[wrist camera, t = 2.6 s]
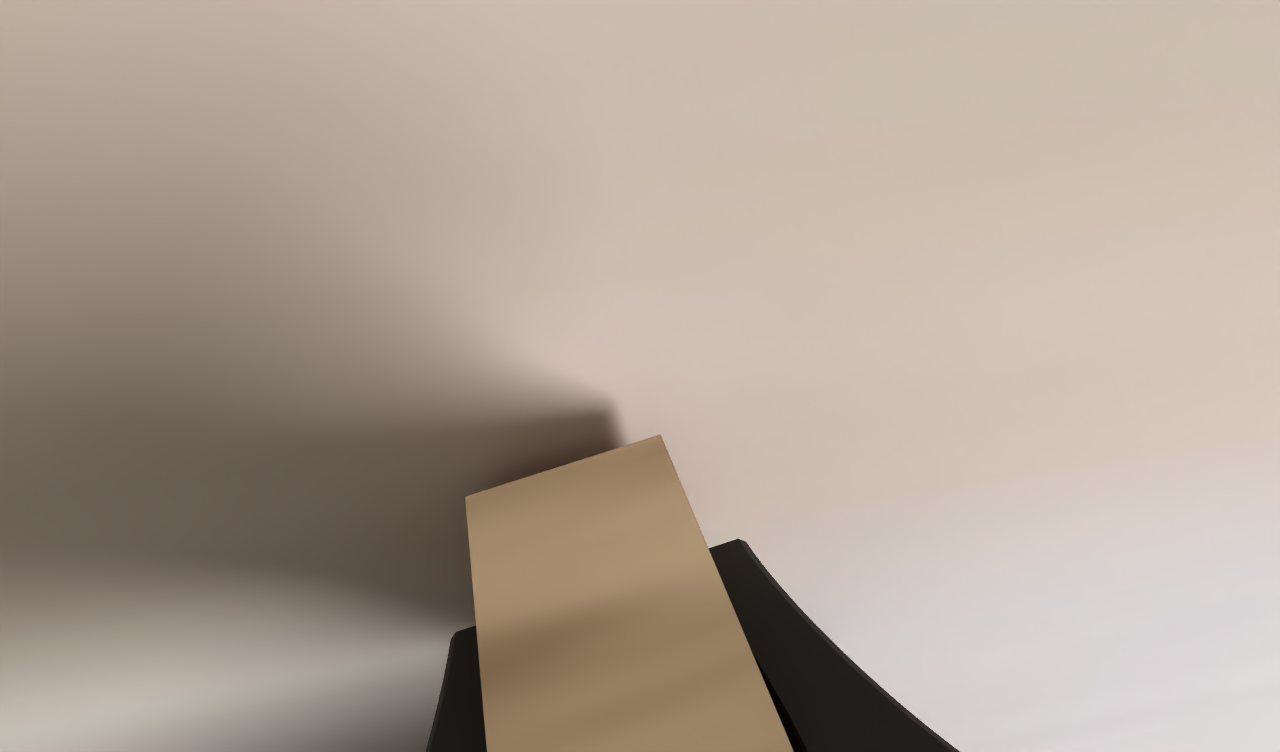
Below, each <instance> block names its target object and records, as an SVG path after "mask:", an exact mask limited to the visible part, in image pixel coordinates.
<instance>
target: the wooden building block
mask: <svg viewBox="0 0 1280 752" xmlns="http://www.w3.org/2000/svg"><path fill="white" fill-rule="evenodd" d="M465 502H466V514H467V525H468V537H469V549H470V560H471V572H472V583H473V595H474V607H475V618H476V630H477V641H478V653H479V665H480V676H481V688H482V699H483V711H484V723H485V734H486V746H487V752H794V751H793V749H792V746H791V744H790V742H789V739H788V737H787V734H786V732H785V730H784V727H783V725H782V723H781V720H780V718H779V715H778V713H777V711H776V708H775V706H774V704H773V701H772V699H771V696H770V694H769V692H768V689H767V687H766V684H765V682H764V680H763V677H762V675H761V673H760V670H759V668H758V665H757V663H756V661H755V658H754V656H753V654H752V651H751V649H750V646H749V644H748V642H747V639H746V637H745V635H744V632H743V630H742V627H741V625H740V623H739V620H738V618H737V615H736V613H735V611H734V608H733V606H732V604H731V601H730V599H729V596H728V594H727V592H726V589H725V587H724V585H723V582H722V580H721V577H720V575H719V573H718V570H717V568H716V566H715V563H714V561H713V558H712V556H711V554H710V551H709V549H708V546H707V544H706V542H705V539H704V537H703V535H702V532H701V530H700V527H699V525H698V523H697V520H696V518H695V516H694V513H693V511H692V508H691V506H690V504H689V501H688V499H687V497H686V494H685V492H684V489H683V487H682V485H681V482H680V480H679V477H678V475H677V473H676V470H675V468H674V466H673V463H672V461H671V458H670V456H669V454H668V451H667V449H666V447H665V444H664V442H663V439H662V437H661V435H657V436H654V437H651V438H648V439H645V440H642V441H638V442H635V443H632V444H629V445H626V446H623V447H620V448H616V449H613V450H610V451H607V452H604V453H601V454H597V455H594V456H591V457H588V458H585V459H582V460H579V461H575V462H572V463H569V464H566V465H563V466H560V467H557V468H553V469H550V470H547V471H544V472H541V473H538V474H535V475H531V476H528V477H525V478H522V479H519V480H516V481H513V482H509V483H506V484H503V485H500V486H497V487H494V488H491V489H487V490H484V491H481V492H478V493H475V494H472V495H468V496H465Z"/></svg>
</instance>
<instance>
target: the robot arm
mask: <svg viewBox="0 0 1280 752" xmlns="http://www.w3.org/2000/svg"><path fill="white" fill-rule="evenodd" d="M709 551H710V554H711V556H712V558H713V561H714V563H715V566H716V568H717V570H718V573H719V575H720V577H721V580H722V582H723V585H724V587H725V589H726V592H727V594H728V596H729V599H730V601H731V604H732V606H733V608H734V611H735V613H736V615H737V618H738V620H739V623H740V625H741V627H742V630H743V632H744V635H745V637H746V639H747V642H748V644H749V646H750V649H751V651H752V654H753V656H754V658H755V661H756V663H757V665H758V668H759V670H760V673H761V675H762V677H763V680H764V682H765V684H766V687H767V689H768V692H769V694H770V696H771V699H772V701H773V704H774V706H775V708H776V711H777V713H778V715H779V718H780V720H781V723H782V725H783V727H784V730H785V732H786V734H787V737H788V739H789V742H790V744H791V746H792V749H793V751H794V752H959V751H958V750H957V749H955V748H954V747H953V746H952V745H950V744H949V743H948V742H946V741H945V740H944V739H943V738H941V737H940V736H939V735H938V734H936V733H935V732H934V731H933V730H931V729H930V728H929V727H927V726H926V725H925V724H924V723H922V722H921V721H920V720H919V719H918V718H916V717H915V716H914V715H913V714H912V713H910V712H909V711H908V710H907V709H906V708H904V707H903V706H902V705H901V704H900V703H899V702H897V701H896V700H895V699H894V698H893V697H892V696H890V695H889V694H888V693H887V692H886V691H885V690H884V689H883V688H881V687H880V686H879V685H878V684H877V683H876V682H875V681H874V680H873V679H871V678H870V677H869V676H868V675H867V674H866V673H865V672H864V671H863V670H861V669H860V668H859V667H858V666H857V665H856V664H855V663H854V662H853V661H852V660H851V659H850V658H849V657H848V656H847V655H846V654H844V653H843V652H842V651H841V650H840V649H839V648H838V647H837V646H836V645H835V644H834V643H833V642H832V641H831V640H830V639H829V638H828V637H827V636H826V635H825V634H824V633H823V632H822V631H821V630H820V629H819V628H818V627H817V626H816V625H815V624H814V623H813V622H812V620H811V619H810V618H809V617H808V616H807V615H806V614H805V613H804V612H803V611H802V610H801V609H800V608H799V607H798V606H797V604H796V603H795V602H794V601H793V600H792V599H791V598H790V597H789V595H788V594H787V593H786V592H785V591H784V590H783V589H782V588H781V586H780V585H779V584H778V583H777V582H776V580H775V579H774V578H773V577H772V576H771V575H770V573H769V572H768V571H767V570H766V568H765V567H764V566H763V565H762V563H761V562H760V561H759V559H758V558H757V557H756V555H755V554H754V553H753V551H752V550H751V548H750V547H749V545H748V544H747V542H745V541H742V540H740V539H736V540H733V541H730V542H727V543H724V544H721V545H718V546H715V547H712V548H709ZM426 752H487V746H486V734H485V723H484V711H483V699H482V688H481V676H480V665H479V653H478V641H477V630H476V626H472V627H469V628H466V629H463V630H460V631H457V632H456V633H455V634H454V636H453V637H452V639H451V642H450V647H449V653H448V659H447V664H446V669H445V674H444V679H443V684H442V688H441V693H440V697H439V702H438V706H437V710H436V714H435V718H434V722H433V726H432V730H431V734H430V738H429V741H428V745H427V748H426Z"/></svg>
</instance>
